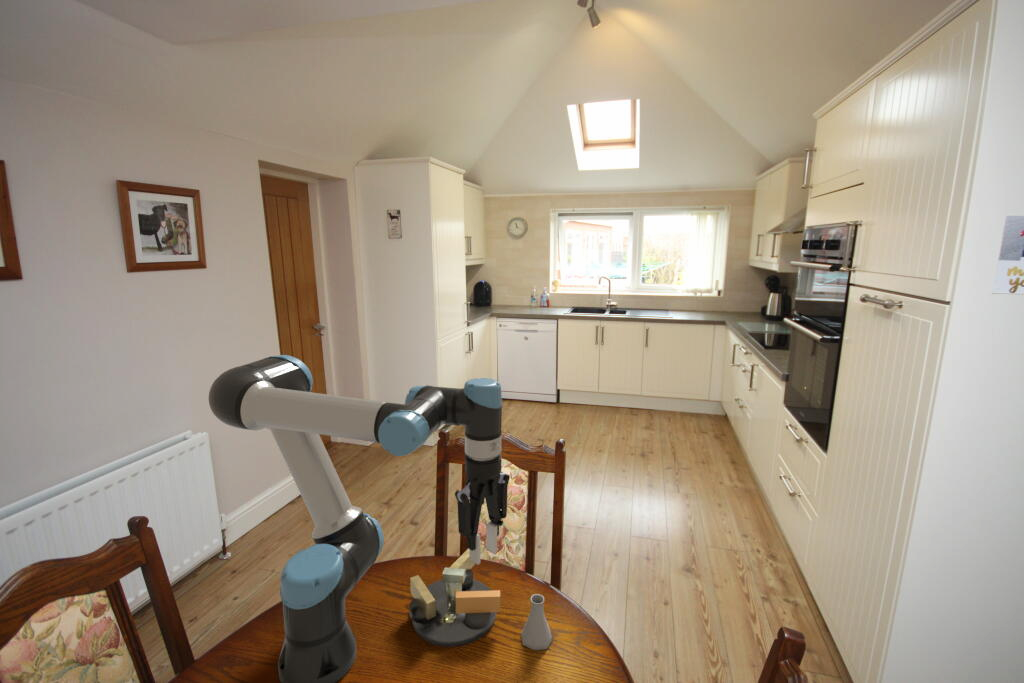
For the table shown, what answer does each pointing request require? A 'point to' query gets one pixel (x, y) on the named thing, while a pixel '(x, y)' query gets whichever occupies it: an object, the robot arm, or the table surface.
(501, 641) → the table surface
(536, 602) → the flask
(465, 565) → the round disc fixture
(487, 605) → the orange rectangular block
